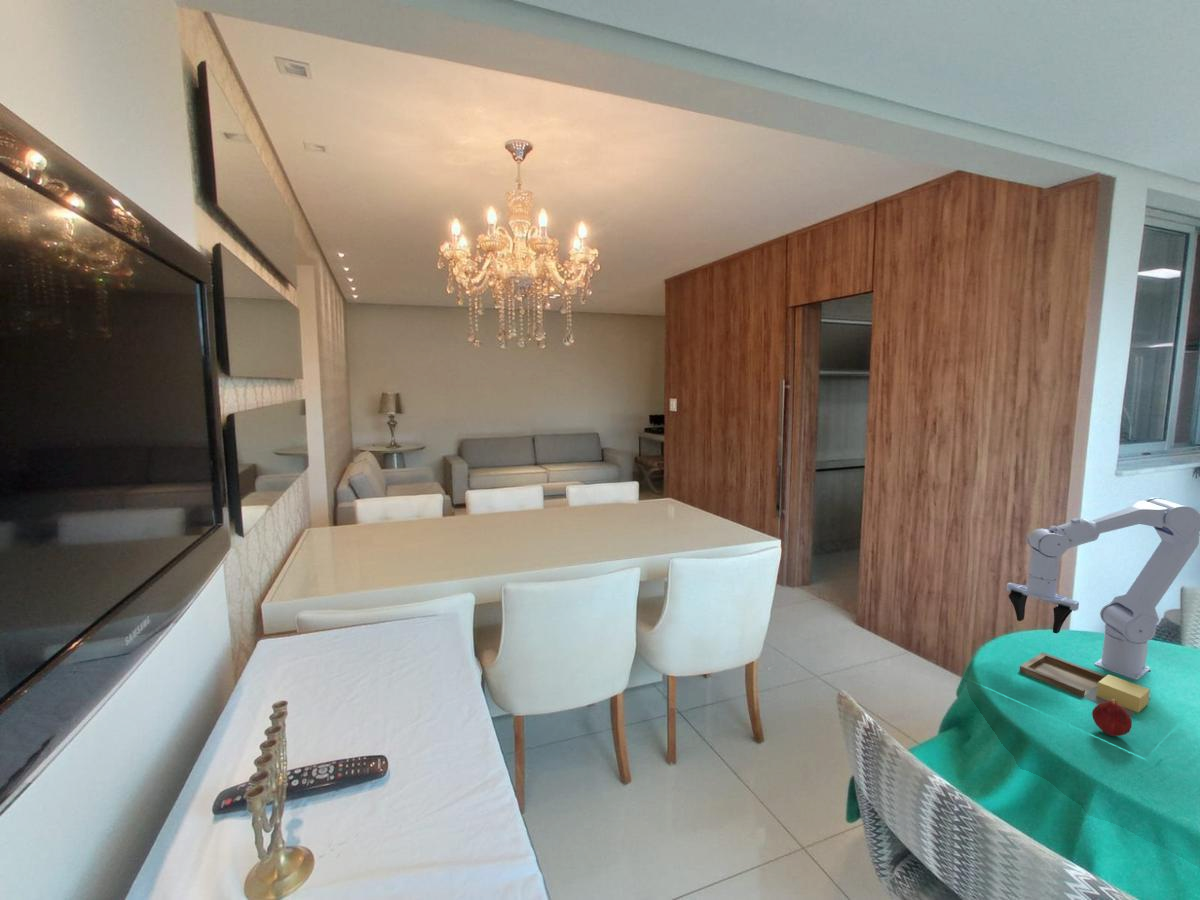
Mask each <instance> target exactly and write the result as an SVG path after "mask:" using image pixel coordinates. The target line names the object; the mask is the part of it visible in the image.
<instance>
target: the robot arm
mask: <svg viewBox="0 0 1200 900" xmlns="http://www.w3.org/2000/svg"><path fill="white" fill-rule="evenodd" d="M1136 525H1144V526H1149V527H1153V528H1154V530H1155V531H1156V534H1158V536H1159V538H1160V540H1161V542H1159V544H1158V545H1157V547H1156V549H1155V550H1154V551H1153V553H1152V555H1151V556H1150V558H1149V559H1148V560H1147V562H1146V563H1145V564H1144V566H1143V568H1142V569H1141V571H1140V572H1139V574H1138V576H1136V579H1135V580H1134V582H1132V585H1131V586H1130V587H1129V588H1128V590H1127V591H1126V593H1125V594H1122V595H1118V596H1115V597H1114V598H1113V599H1112V601H1110V602H1109V603H1107V604H1106V605H1104V606H1102V608H1101V609H1100V613H1099V615H1100V619H1101V621H1103V623H1105V625H1104V628H1105V629H1104V630H1105V631H1104V636H1103V637H1104V638H1103V646H1102V654H1101V658H1100V659H1098V660H1097V661H1096V662H1094V666H1096V667H1099V668H1101V669H1104V670H1107V671H1110V672H1113V673H1115V674H1118V675H1121V676H1124V677H1127V678H1130V679H1131V680H1135V681H1138V680H1140V679H1141V678H1142V677H1143V676H1144V675H1146V674H1147V673H1148V672H1149V671H1150V670H1151V669H1152V668H1151V667H1150V666H1147V665H1146V663H1147V655H1148V649H1149V646H1148V645H1149V643H1148V642H1149V641H1150V640H1153V638H1154V637H1155V636H1156V632H1157V631H1156V626H1157V625H1158V623H1159V622H1160V619H1159V615H1158V613H1157V609H1156V607H1157V606H1158V605H1159V603H1160V602H1161V600H1162V599H1163V597H1164V595H1165V594H1166V593H1167V591H1168V590H1169V589H1170V587H1171V585H1172V584H1173V583H1174V582H1175V580H1176V578H1177V577H1178V576H1179V574H1180V572H1181V571H1182V570H1183V568H1184V567H1185V566H1186V564H1187V562H1188V561H1189V559H1190V558H1191V557H1192V555H1193V554H1194V552H1195V550H1196V549H1197V548H1198V546H1199V542H1200V541H1199V540H1200V512H1198V510H1196V508H1194V507H1191V506H1188V505H1182V504H1179V503H1176V502H1173V501H1169V500H1167V499H1165V498H1162V497H1149V498H1148V499H1146V500H1139V501H1136V502H1135V503H1134V504H1133V505H1131V506H1127V507H1126V508H1125V507H1124V508H1122V509H1120V510H1117V511H1114V512H1112V513H1108V514H1106V515H1104V516H1101V517H1100V516H1099V517H1098V518H1095V519H1092V520H1088V519H1086V518H1077V517H1074V518H1071V519H1070V522H1066V523H1063V524H1062V523H1061V524H1060V525H1057V526H1056V525H1051V526H1049V528H1048V529H1046V528H1037V529H1035V530H1032V532H1031V533H1029V536H1028V537H1026V542H1027V544H1028V546H1029V547H1030V556H1029V564H1028V575H1027V577H1028V578H1027V585H1024V584H1018V583H1016V582H1015V583H1014V582H1008V583H1006V586H1005V587H1006V589H1005V591H1007V592H1010V593H1009V594H1008V598H1009V600H1010V602H1011V604H1012V606H1013V608H1014V612H1015V615H1016V620H1017V622H1022V621H1023V620H1025V619H1024V618H1025V613H1026V611H1025V610H1026V604H1027V600H1028V597H1030V598H1031V599H1034V600H1040V601H1043V602H1047V603H1049V604H1054V605H1057V606H1055V607H1053V609H1052V610H1053V627H1052V633H1053V634H1058V633H1060V632H1061V629H1062V626H1063V625H1064V622H1065V621H1066V619H1067V618H1068V617H1069V616H1070V614H1071V613H1072V612H1073V611H1074V612H1076V611H1077V610H1079V607H1080V601H1077V600H1074V599H1071V598H1069V597H1066V596H1064V595H1061V594H1058V593H1057V589H1058V580H1059V573H1060V572H1059V571H1060V562H1061V561H1060V560H1061V556H1063V555H1064V554H1065V553H1066V552H1067V550H1069V549H1071V548H1075V547H1078V546H1081V545H1085V544H1087V543H1091V542H1096V541H1097V540H1098V538H1099V537H1100V534H1103V533H1109V532H1112V531H1117V530H1120V529H1125V528H1129V527H1133V526H1136Z"/></svg>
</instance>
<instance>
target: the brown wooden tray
mask: <svg viewBox="0 0 1200 900" xmlns="http://www.w3.org/2000/svg"><path fill="white" fill-rule="evenodd" d="M1019 673H1022V674H1025V675H1027V676H1030V677H1031V678H1034V679H1036V680H1039V681H1041V682H1044V683H1046V684H1048V685H1052V686H1054V687H1056V688H1058V689H1061V690H1063V691H1066V692H1068V693H1071V694H1073V695H1076V696H1078V697H1081V698H1083V697H1084V696H1085V695H1086V694H1088V693H1089V692H1090V691H1092V690H1093V689H1094V688H1096V687H1097V686H1098V682H1099V681H1100V680H1101V679H1103V678H1104V677H1105V674H1104V673H1101V672H1098V671H1095V670H1093V669H1089V668H1086V667H1084V666H1082V665H1079V664H1077V663H1074V662H1070V661H1068V660H1065V659H1063V658H1061V657H1057V656H1054V655H1052V654H1049V653H1046V652H1043V651H1042V652H1041V653H1039V654H1038V655H1036V656H1034V657H1032V658H1030V659H1029V660H1027V661H1025V662H1024V663H1022V664H1020V665H1019Z"/></svg>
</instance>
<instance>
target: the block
mask: <svg viewBox="0 0 1200 900" xmlns="http://www.w3.org/2000/svg"><path fill="white" fill-rule="evenodd" d="M1096 687H1097V686H1096ZM1150 692H1151V688H1150V689H1149V688H1147V687H1144V686H1143V685H1140V684H1136V683H1134V682H1131V681H1128V680H1125V679H1123V678H1120V677H1117V676H1114V675H1112V674H1107V675H1106V676H1105V675H1104V678H1103V679H1101V680H1100V681H1099V682H1098V687H1097V695H1096V696H1098V697H1100V698H1103V699H1105V700H1108V701H1110V700H1111V699H1112V698H1113V699H1115V700H1116V701H1117V704H1118V705H1120V706H1123V707H1125V708H1128V709H1130V710H1133V711H1135V713H1140V712H1141V711H1142V710H1143V709H1144V708H1145V707H1146V706H1148V705H1149V701H1150V700H1149V698H1150Z"/></svg>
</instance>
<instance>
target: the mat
mask: <svg viewBox="0 0 1200 900" xmlns="http://www.w3.org/2000/svg"><path fill="white" fill-rule="evenodd" d="M1097 687H1098V686H1096V687H1095V688H1094V689H1092V690H1091V691H1090V692H1088V693H1087V694H1086V695H1084V696H1083V697H1082V698H1084V699H1086V700H1088V701H1091V702H1093V703H1096V704H1097V705H1098V704H1101V703H1105V702H1110V701H1108V700H1105V699H1103V698H1100V697H1098V696H1096V695H1097ZM1150 700H1151V697H1149V701H1150ZM1119 706H1120V705H1119ZM1121 707H1122V708H1123V709H1124V710H1125V711H1126V712H1127V713H1128V715H1129V716H1130V718H1131V717H1132V716H1134V714H1135V713H1136V712H1135V711H1133V710H1130V709H1128V708H1125V707H1123V706H1121Z"/></svg>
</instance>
